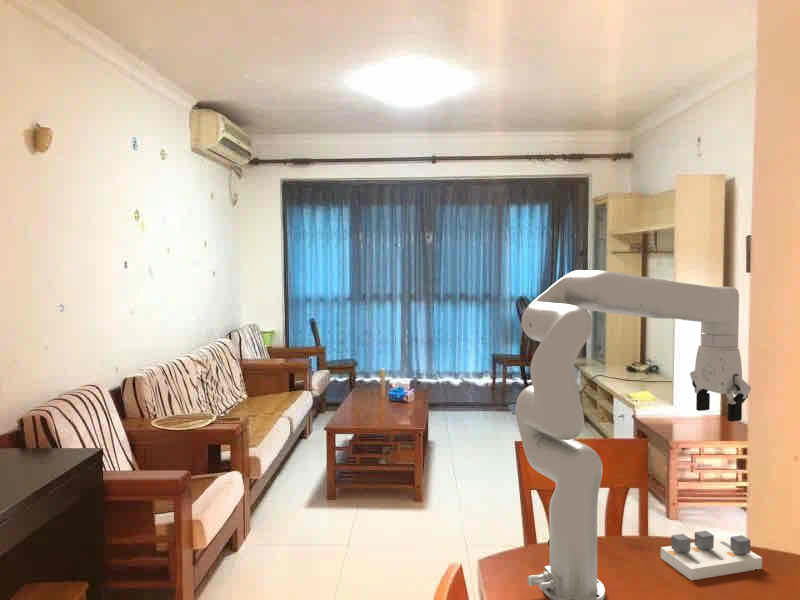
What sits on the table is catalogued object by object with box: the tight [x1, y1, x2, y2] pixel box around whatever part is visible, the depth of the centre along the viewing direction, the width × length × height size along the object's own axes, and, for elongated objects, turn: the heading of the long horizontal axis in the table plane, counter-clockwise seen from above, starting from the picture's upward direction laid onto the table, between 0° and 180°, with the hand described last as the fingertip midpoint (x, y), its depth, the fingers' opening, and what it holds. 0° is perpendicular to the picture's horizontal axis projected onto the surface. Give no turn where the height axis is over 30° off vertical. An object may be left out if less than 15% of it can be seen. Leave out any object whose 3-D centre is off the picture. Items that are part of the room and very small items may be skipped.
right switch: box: [730, 534, 751, 555], centre depth 135 cm, size 3×2×3 cm
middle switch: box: [694, 530, 715, 550], centre depth 137 cm, size 3×2×3 cm
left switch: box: [670, 533, 691, 553], centre depth 136 cm, size 3×2×3 cm
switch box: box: [660, 537, 763, 581], centre depth 136 cm, size 18×10×3 cm, turn 103°
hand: (718, 415), depth 138 cm, fingers open, 9 cm apart
